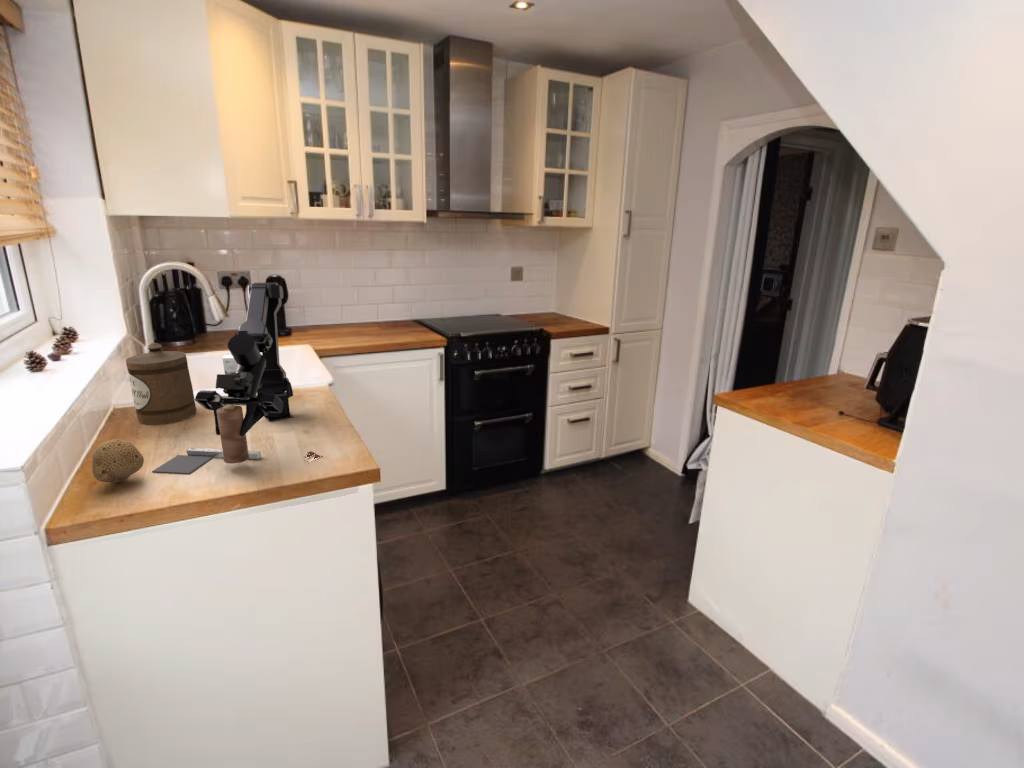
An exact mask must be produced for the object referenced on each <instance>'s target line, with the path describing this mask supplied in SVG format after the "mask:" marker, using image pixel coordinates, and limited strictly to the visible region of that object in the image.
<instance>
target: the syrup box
mask: <svg viewBox="0 0 1024 768" xmlns="http://www.w3.org/2000/svg"><path fill="white" fill-rule="evenodd" d="M222 365H223V370H224V371H223V373H224V374H225V375H231V374H232V373H236V370H237V367H238V364H237V363H236V361H235V360H234V358H233V356H232V354H231V353H228V354H227V353H226V354H225V355H224V356H222Z"/></svg>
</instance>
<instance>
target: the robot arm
mask: <svg viewBox="0 0 1024 768" xmlns="http://www.w3.org/2000/svg"><path fill="white" fill-rule="evenodd" d="M247 295H248V296H247V297H248V299H249V300H248V305H247V306H248V307H247V312H246V319H245V321H244V322H243V323H241V324H240V325H239V328H238V330H237V334H236V335H233V336H232V337H231V338H230V339H229V340H228V342H227V348H228V350H229V353H230V354H232V356H233V358H234V360H235V361H236V363H237V364H238V367H237V370H236V373H232V374H231V375H225V373H224V374H220V373H218V374H216V379H215V381H216V382H215V389H220V390H221V389H222V392H223V393H224V394H226V395H227V396H223V395H220V394H219V393H218V392H217V391H216V390H203V389H202V390H199V391H198V392H197V393H196V395H195V397H194V400H195V403H198V405H200V406H201V407H203V408H204V409H206V410H208V411H212V412H213V415H214V424H215V427H214V428H215V434H216V435H217V436H220V430H219V424H218V418H217V409H219V408H222V407H224V406H227V405H236V406H245V415H244V416H243V418H244V420H243V423H242V426H241V429H240V435H241V436H244V435H245V434H246V435H247V433H248V432H249V430H251V429H252V428H253V427H254V426H255V424H257V423H258V422H259V421H261V419H263V417H264V418H265V419H266V420H267V421H268V422H273V421H278V420H279V421H280V420H284V419H290V418H292V417H293V414H292V413H291V411H290V404H289V402H290V400H289V399H290V398H291V397H294V391H293V386H292V383H291V382H290V379H289V378H288V377H287V372H286V371H285V369H284V368H283V366H282V365H281V364H280V352H279V351H280V350H279V348H280V347H279V335H278V334H279V333H278V322H277V319H278V317H277V313H278V312H279V311H280V309H281V307H282V303H283V302H282V299H284V288H283V286H281V285H279V283H278V282H253V283H252V284H249V285H247Z"/></svg>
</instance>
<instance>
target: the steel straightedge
mask: <svg viewBox="0 0 1024 768" xmlns="http://www.w3.org/2000/svg"><path fill="white" fill-rule="evenodd" d="M186 453H187V454H186V455H190V456H211V457H213V458H221V459H222V458H223V459H224V455H223V449H221V448H220V449H219V448H203V447H201V448H200V447H199V448H198V447H190V448H188V449H187V450H186ZM248 453H249V458H248V459H247V460H259V459H260V458H261V457H262V453H261V450H259V451H257V450H248Z"/></svg>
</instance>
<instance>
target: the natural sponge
mask: <svg viewBox="0 0 1024 768" xmlns="http://www.w3.org/2000/svg"><path fill="white" fill-rule="evenodd" d="M91 463H92V465H91V466H92V469H91V470H92V476H93V477H94V479H95V480H96V481H98V482H103V483H111V484H120V483H123V482H125V481H126V480H128V478H130V477H131V476H133V475H134V474H135V473H137V472H138V471H139V470H141V469H142V468H143V466H144V463H145V459H144V456H143V454H142V453H141V452H140V451H139V450H138V448H137V447H136V446H135V445H134V444H133V443H131V442H130V441H127V440H125V439H122V438H121V439H120V438H114V439H111V440H107V441H103V442H101V443H100V444H99V445H97V447H96V448H95V450H94V452H93V454H92V462H91Z"/></svg>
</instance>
